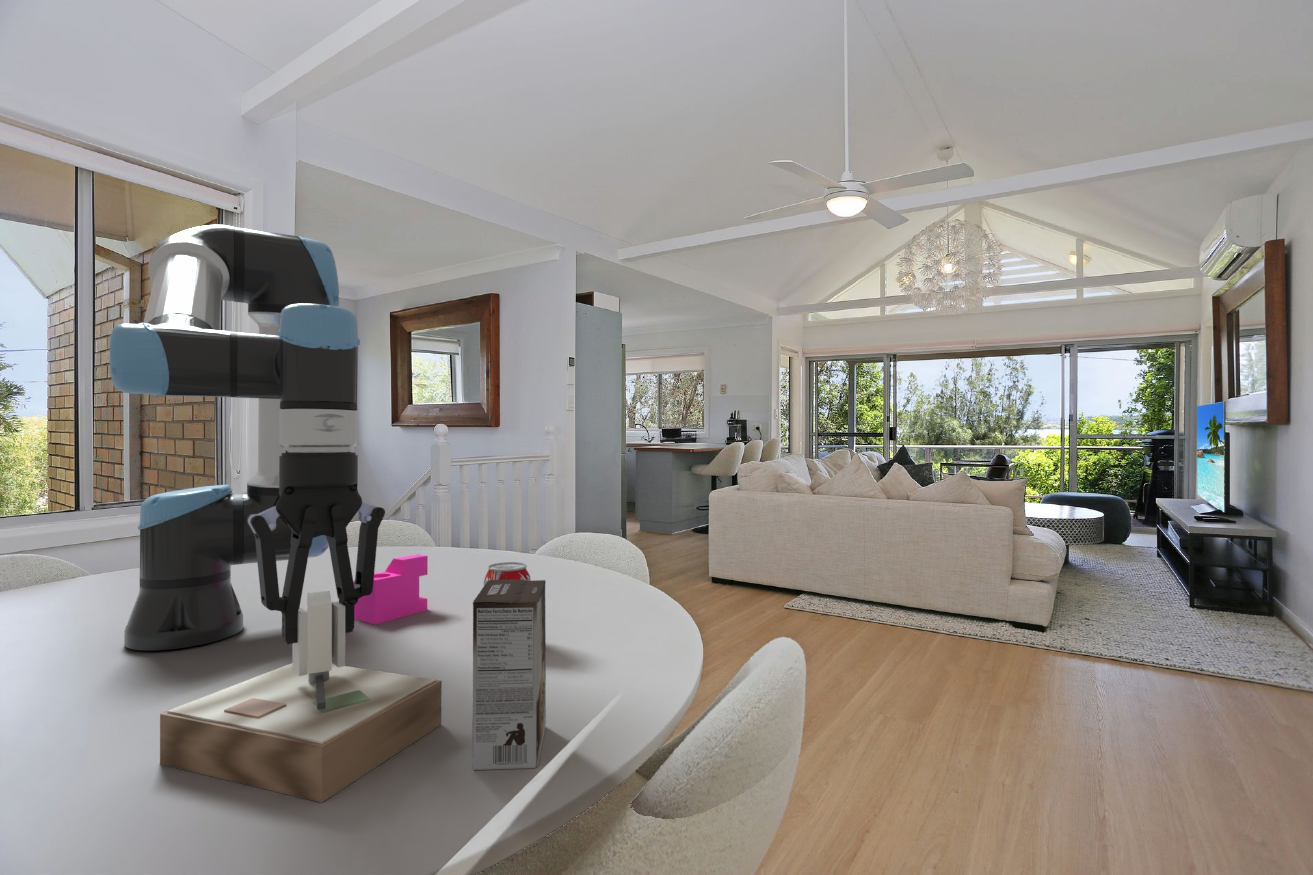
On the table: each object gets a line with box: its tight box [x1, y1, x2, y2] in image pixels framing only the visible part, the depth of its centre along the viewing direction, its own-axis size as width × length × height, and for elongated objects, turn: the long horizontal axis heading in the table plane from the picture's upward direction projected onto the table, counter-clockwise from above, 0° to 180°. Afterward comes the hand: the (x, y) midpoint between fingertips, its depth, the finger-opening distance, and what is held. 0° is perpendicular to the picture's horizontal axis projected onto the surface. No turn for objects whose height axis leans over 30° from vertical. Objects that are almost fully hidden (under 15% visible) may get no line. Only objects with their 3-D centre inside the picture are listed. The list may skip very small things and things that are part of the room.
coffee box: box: [472, 579, 547, 771], centre depth 65 cm, size 9×6×16 cm
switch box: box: [159, 662, 443, 804], centre depth 66 cm, size 20×16×5 cm
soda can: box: [483, 561, 532, 587], centre depth 98 cm, size 7×7×12 cm
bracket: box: [353, 554, 429, 625], centre depth 115 cm, size 12×10×10 cm
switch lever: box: [306, 590, 333, 710], centre depth 67 cm, size 2×13×9 cm, turn 29°
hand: (318, 667), depth 69 cm, fingers closed on switch lever, 3 cm apart
